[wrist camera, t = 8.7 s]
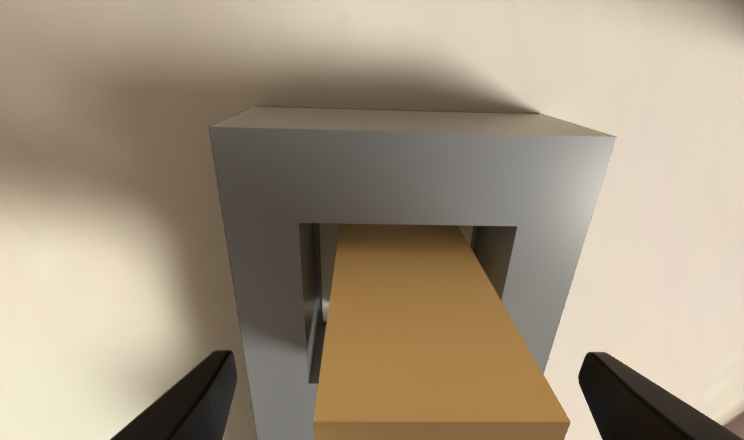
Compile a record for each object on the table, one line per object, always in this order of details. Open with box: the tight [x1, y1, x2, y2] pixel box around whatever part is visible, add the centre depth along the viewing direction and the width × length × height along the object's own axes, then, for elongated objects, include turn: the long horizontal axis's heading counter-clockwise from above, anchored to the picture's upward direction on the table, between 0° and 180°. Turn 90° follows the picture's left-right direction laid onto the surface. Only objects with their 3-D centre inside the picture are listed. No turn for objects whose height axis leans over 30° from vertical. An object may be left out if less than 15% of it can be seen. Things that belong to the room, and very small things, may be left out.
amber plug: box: [313, 224, 570, 440], centre depth 10 cm, size 4×4×8 cm
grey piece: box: [209, 106, 616, 440], centre depth 15 cm, size 22×10×4 cm, turn 178°
